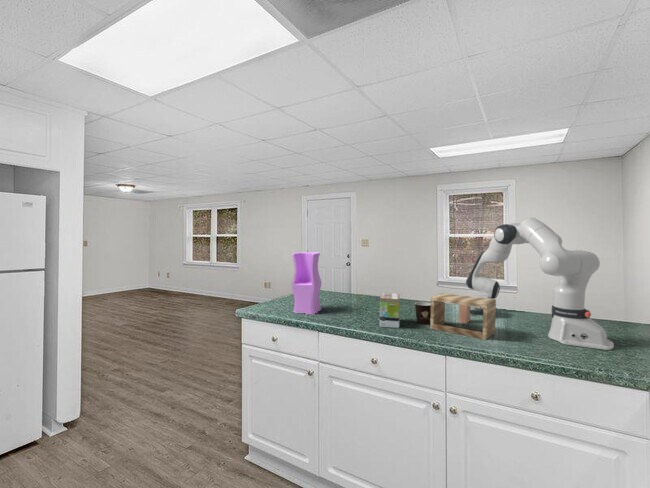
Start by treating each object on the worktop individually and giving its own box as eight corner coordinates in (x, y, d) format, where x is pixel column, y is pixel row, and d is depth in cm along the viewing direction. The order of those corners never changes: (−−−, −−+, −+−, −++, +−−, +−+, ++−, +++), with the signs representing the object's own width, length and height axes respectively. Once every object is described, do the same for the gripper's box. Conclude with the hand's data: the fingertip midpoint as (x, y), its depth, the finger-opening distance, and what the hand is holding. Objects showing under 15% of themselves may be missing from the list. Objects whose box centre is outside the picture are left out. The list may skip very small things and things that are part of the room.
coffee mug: (413, 323, 171) (413, 304, 170) (416, 319, 178) (416, 301, 178) (436, 326, 165) (436, 306, 165) (439, 322, 173) (439, 303, 172)
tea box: (399, 328, 163) (400, 298, 162) (379, 327, 165) (379, 297, 164) (399, 320, 178) (399, 292, 177) (380, 319, 180) (380, 292, 179)
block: (470, 321, 175) (470, 300, 175) (466, 323, 171) (467, 302, 171) (462, 319, 178) (462, 299, 177) (459, 321, 174) (459, 301, 174)
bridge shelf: (495, 332, 156) (495, 299, 155) (486, 339, 145) (486, 304, 145) (441, 322, 173) (441, 293, 172) (430, 328, 162) (430, 297, 161)
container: (291, 313, 193) (291, 253, 192) (300, 308, 207) (299, 252, 205) (314, 314, 189) (313, 254, 188) (321, 309, 203) (321, 252, 201)
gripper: (461, 294, 200) (453, 298, 190) (498, 299, 187) (491, 303, 176) (461, 305, 200) (453, 309, 190) (498, 310, 187) (491, 314, 177)
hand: (472, 306), depth 183 cm, fingers open, 8 cm apart
